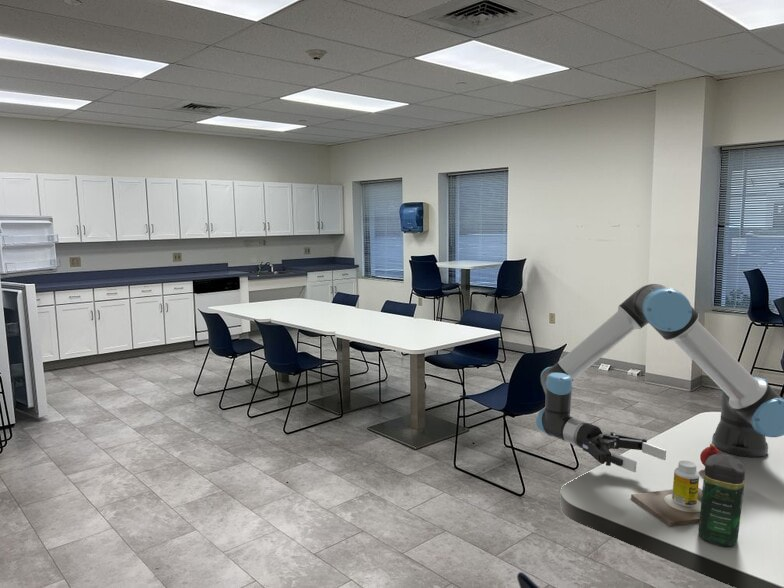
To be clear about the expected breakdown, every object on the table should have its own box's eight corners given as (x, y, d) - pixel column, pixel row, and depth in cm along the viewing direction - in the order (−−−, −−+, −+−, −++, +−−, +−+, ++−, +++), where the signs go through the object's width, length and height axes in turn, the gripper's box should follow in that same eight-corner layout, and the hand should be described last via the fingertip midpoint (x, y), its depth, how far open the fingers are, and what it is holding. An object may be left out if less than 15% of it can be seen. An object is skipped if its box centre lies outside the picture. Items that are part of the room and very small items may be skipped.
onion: (721, 468, 165) (723, 442, 164) (723, 476, 160) (725, 449, 159) (698, 464, 167) (700, 438, 166) (699, 472, 162) (702, 446, 161)
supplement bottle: (688, 510, 139) (692, 470, 137) (667, 500, 143) (670, 462, 142) (701, 504, 142) (704, 465, 140) (679, 494, 146) (683, 457, 145)
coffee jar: (737, 552, 123) (745, 471, 121) (696, 540, 128) (703, 462, 125) (739, 532, 132) (747, 455, 129) (700, 521, 136) (707, 447, 133)
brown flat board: (696, 490, 152) (696, 485, 152) (739, 516, 138) (740, 512, 138) (631, 498, 147) (631, 493, 147) (669, 526, 133) (669, 521, 133)
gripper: (608, 438, 174) (675, 463, 157) (554, 456, 160) (621, 486, 143) (610, 414, 173) (677, 437, 156) (555, 431, 159) (623, 458, 142)
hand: (650, 461), depth 149 cm, fingers open, 13 cm apart
